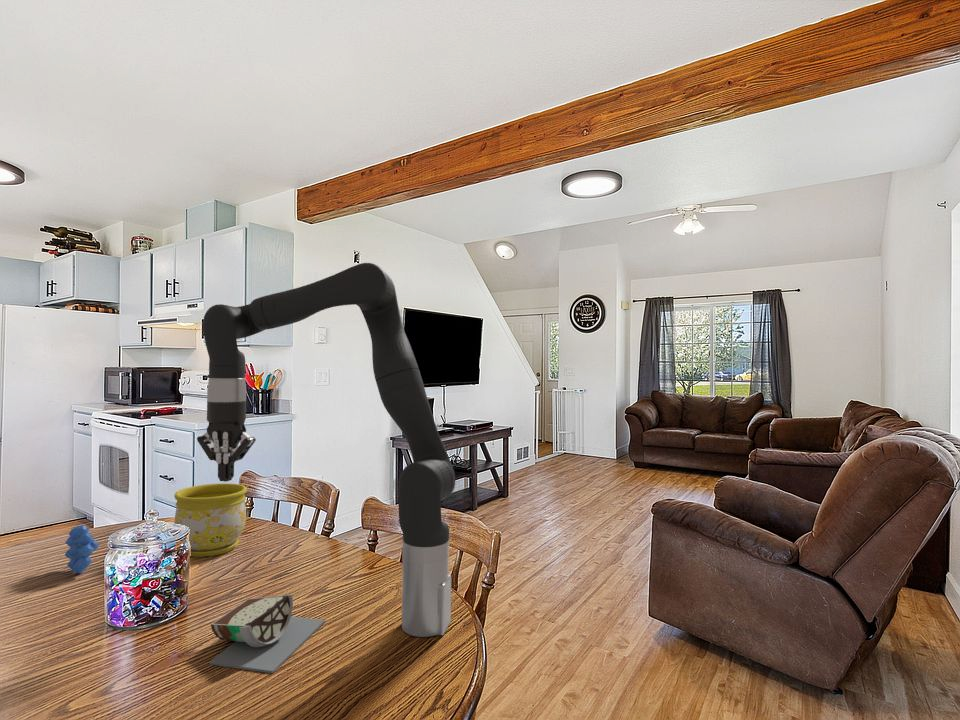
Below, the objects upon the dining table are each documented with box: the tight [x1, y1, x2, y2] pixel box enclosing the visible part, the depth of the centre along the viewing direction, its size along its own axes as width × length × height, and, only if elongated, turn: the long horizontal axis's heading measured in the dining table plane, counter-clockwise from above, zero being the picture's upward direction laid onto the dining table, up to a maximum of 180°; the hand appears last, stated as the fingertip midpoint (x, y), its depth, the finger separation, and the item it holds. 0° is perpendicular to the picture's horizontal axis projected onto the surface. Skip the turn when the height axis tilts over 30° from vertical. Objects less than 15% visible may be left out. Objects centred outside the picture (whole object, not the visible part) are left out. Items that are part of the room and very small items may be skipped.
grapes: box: [64, 524, 101, 575], centre depth 130 cm, size 12×7×12 cm, turn 55°
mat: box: [208, 615, 326, 674], centre depth 99 cm, size 12×18×1 cm
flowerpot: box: [174, 482, 248, 558], centre depth 147 cm, size 18×18×16 cm
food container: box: [210, 593, 294, 647], centre depth 99 cm, size 12×6×10 cm
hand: (225, 480), depth 112 cm, fingers closed
